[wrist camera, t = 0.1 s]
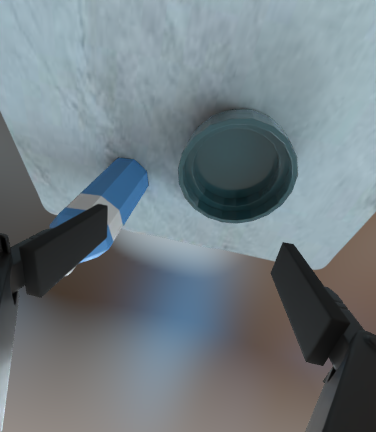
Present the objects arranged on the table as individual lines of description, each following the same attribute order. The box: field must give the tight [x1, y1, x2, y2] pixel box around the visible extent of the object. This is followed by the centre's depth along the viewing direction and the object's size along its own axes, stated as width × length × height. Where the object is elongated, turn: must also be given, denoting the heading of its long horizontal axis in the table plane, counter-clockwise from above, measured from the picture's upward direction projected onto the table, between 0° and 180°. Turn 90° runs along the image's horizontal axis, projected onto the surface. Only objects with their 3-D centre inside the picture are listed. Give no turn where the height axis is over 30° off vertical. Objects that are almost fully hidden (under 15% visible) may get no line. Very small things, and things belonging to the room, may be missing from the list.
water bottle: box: [50, 158, 148, 276], centre depth 37 cm, size 9×9×25 cm
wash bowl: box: [178, 109, 298, 223], centre depth 37 cm, size 20×20×6 cm
